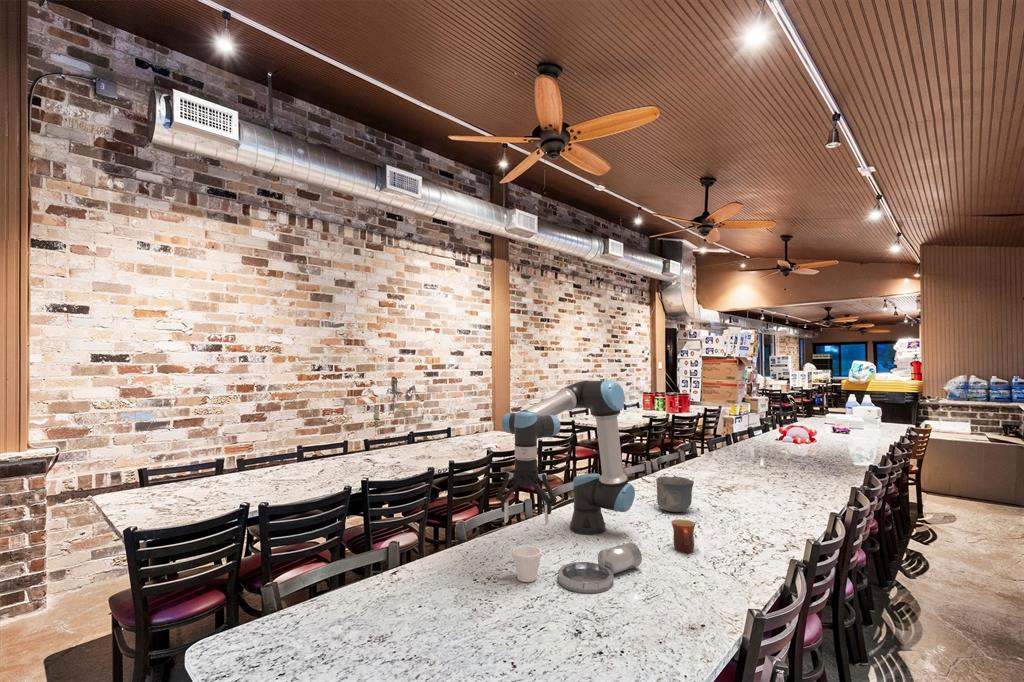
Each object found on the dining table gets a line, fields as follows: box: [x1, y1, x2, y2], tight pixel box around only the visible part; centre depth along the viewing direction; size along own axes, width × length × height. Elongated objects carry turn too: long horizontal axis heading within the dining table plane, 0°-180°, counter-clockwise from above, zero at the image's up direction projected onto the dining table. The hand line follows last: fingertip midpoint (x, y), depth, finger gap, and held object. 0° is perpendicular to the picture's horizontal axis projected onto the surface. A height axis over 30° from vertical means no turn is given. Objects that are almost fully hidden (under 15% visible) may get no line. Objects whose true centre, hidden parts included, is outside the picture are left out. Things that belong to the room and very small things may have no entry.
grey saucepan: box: [557, 542, 643, 595], centre depth 167 cm, size 31×18×8 cm, turn 123°
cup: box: [511, 545, 543, 584], centre depth 166 cm, size 10×10×9 cm
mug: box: [670, 518, 696, 554], centre depth 189 cm, size 12×9×10 cm
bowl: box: [655, 475, 695, 513], centre depth 240 cm, size 18×18×15 cm
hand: (526, 522), depth 167 cm, fingers open, 13 cm apart
